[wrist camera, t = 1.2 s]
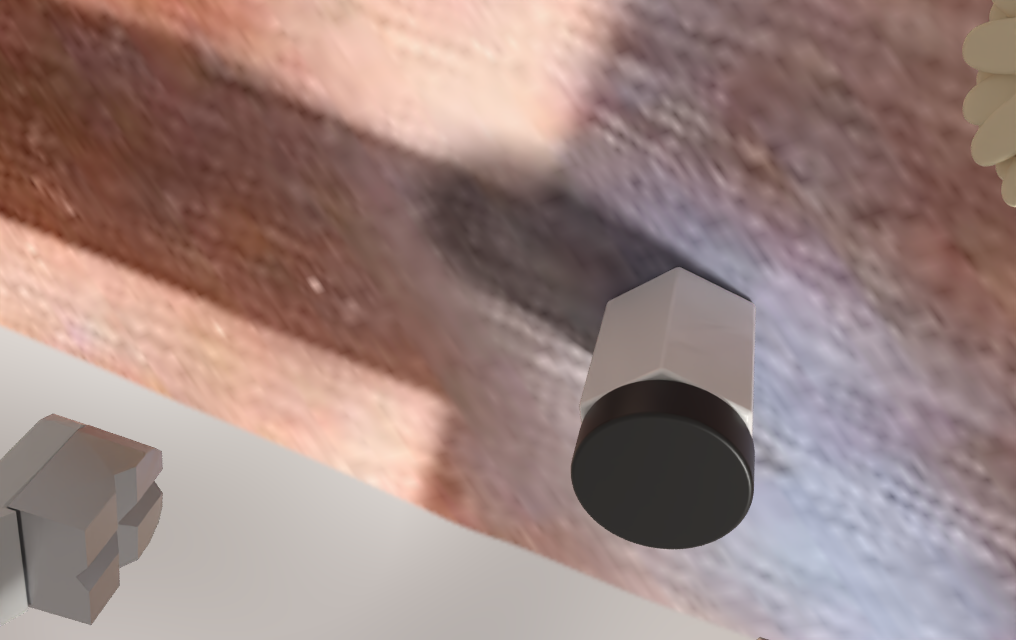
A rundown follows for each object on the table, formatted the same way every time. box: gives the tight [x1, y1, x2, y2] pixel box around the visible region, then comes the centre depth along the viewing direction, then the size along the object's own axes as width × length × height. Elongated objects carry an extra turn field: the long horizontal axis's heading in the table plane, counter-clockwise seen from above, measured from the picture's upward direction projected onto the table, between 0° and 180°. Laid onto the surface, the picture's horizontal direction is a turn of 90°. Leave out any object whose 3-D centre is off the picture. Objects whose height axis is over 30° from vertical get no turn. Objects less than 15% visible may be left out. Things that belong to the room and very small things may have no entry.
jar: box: [571, 267, 756, 549], centre depth 47 cm, size 9×8×12 cm
